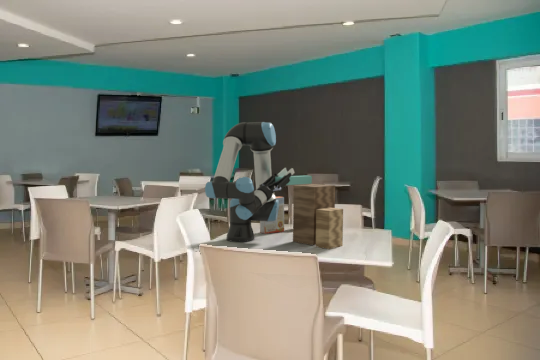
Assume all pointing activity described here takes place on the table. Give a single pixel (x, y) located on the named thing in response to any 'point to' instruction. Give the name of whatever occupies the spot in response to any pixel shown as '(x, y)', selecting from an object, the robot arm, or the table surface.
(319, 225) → the short stand
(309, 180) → the batten
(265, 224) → the cracker box
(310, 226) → the tall stand
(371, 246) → the table surface
